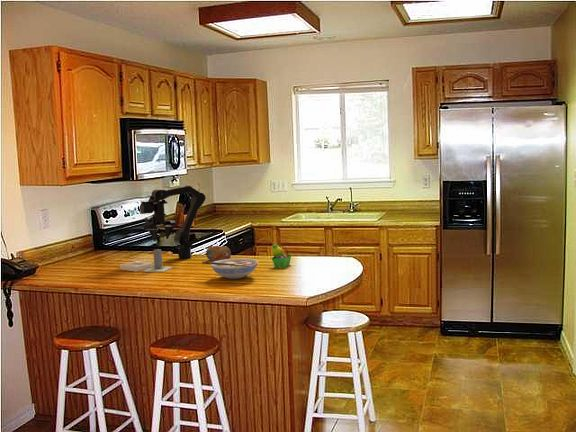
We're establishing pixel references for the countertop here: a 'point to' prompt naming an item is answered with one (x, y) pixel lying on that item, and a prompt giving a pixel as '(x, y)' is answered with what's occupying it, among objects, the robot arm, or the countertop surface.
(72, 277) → the countertop surface
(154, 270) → the key mat
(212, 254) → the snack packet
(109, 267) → the countertop surface
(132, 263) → the cover plate
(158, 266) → the t key
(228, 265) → the ramen bowl
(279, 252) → the fruit basket
